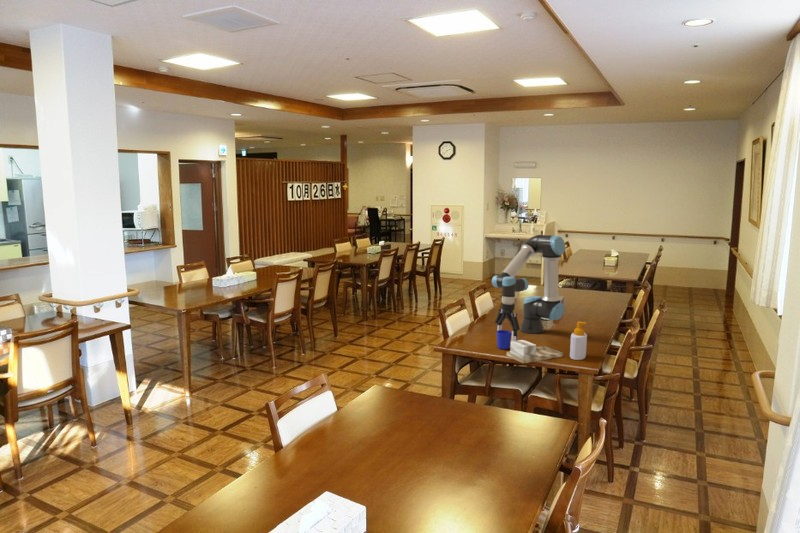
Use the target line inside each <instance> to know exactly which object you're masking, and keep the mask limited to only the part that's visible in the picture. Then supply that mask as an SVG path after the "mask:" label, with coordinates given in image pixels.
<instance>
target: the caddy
mask: <svg viewBox="0 0 800 533" xmlns="http://www.w3.org/2000/svg"><path fill="white" fill-rule="evenodd" d="M510 345H511V346H509V348H510V349H509V350H510V351H506V353H505V354H506V357H509V358H510V359H513V360H515V361H517V362H519V363H522V364H528V363H534V362H539V361H545V360H549V359H550V360H551V359H556V358H562V357H564V352H562V351H559V350H558V349H557V350H556V349H554V348H551V347H549V346H546V345H542V346H537V344H535V343H532V342H530V341H528V340H524V339H517V341H512V340H510Z"/></svg>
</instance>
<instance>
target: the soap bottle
mask: <svg viewBox="0 0 800 533" xmlns="http://www.w3.org/2000/svg"><path fill="white" fill-rule="evenodd" d="M583 325H587V322H585V321H577V322H576V328H574V330H573V332H572V333H571V335H570V345H569V349H570V350H569V357H570V359H572V360H575V361H581V360H584V359H585V358H586V357H587V343H588V334H587V333H585V330H584V328H583Z"/></svg>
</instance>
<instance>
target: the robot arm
mask: <svg viewBox="0 0 800 533" xmlns="http://www.w3.org/2000/svg"><path fill="white" fill-rule="evenodd" d="M565 250H566V243H565V240H564V239H563V238H562V237H561V236H560V235H559V236H558V235H553V234H552V235H551V234H550V235H549V234H536V235H533V236H532V237H530V238H529V239H527V240H526V241H525V242H523V243H522V245H521V247H520V250H519V251H518V253H517V254H516V255H515V256H514V257H513V259H512V260H511V261H510V262H509V264H508V265H507V266H506V267H505V268H504V269H503V270H502V272H501V273H500V274H499V275H498V274H495V275H494V276H492V279H491V285H492V287H494V288H497V289H501V308H500V309H498V313H497V316H496V318H495V321H494V323H495V324H496V329H497V331H499V330H503V322H504V321H505V320H506V319H507V321H509V323H510V325H511V328H512V330H511V333H512V335H511V341H516V336H517V337H518V331H520V332H521V333H522V332H523V333H525V334H526V333H527V334H541V333H544V326H543V322H542V319H547V320H551V321H559V319H561V318H562V316H563V315H564V312H565V305H564V303H562V302H561V298H560V297H559V264H560V262H559V260H560V259H561V257H562V255H563V254H565ZM536 254H541V257H542V258H543V259H544V260H543V261H544V262H543V263H544V264H543V265H544V266H543V268H544V270H543V271H544V278H543V280H544V283H543V286H544V288H543V290H544V291H543V293H544V294H543V296H540V295H531V296H526V297H524V300H523V313H522V314H523V315H522V316H523V318H522V322H521V324H520V325H519V321H518V314H517V312H515V313H514V311H515V303H516V293H519V292H524V291H526V290H528V289H529V281H528V280H527V279H526V278H523V277H522V278H521V277H520V278H518V277H517V278H516V276H517V275H518V273H519V272H520V270H521V269H522V268H523V267H524V265H525V264H526V263H527V262H528V260H529V259H530V258H532V257H533V256H535V255H536Z"/></svg>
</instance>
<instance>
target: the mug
mask: <svg viewBox="0 0 800 533" xmlns="http://www.w3.org/2000/svg"><path fill="white" fill-rule="evenodd" d="M511 340H512V331H511V330H510V331H509V330H506V329H502V330H499V331H498V330H497V331H496V344H497V345H496V346H497V348H498V349H499V350H507V349H509V348H510V347H511ZM516 341H518V335H517V336H516Z"/></svg>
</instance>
